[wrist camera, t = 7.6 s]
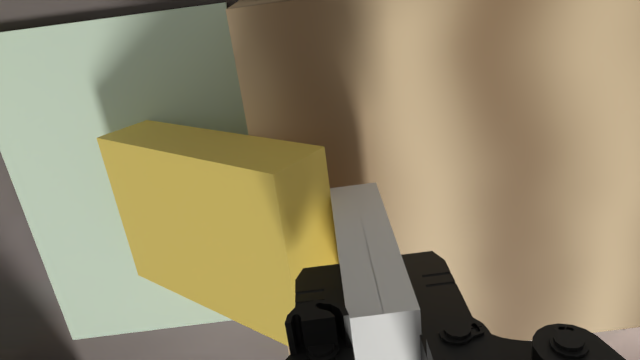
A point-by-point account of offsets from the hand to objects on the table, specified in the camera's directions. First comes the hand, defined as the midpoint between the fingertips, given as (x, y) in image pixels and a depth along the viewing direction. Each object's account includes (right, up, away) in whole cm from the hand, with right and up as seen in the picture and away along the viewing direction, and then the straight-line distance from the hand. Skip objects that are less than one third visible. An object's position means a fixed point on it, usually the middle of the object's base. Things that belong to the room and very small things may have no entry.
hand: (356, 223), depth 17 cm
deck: (+6, +3, +5) cm, 8 cm away
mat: (-9, +1, +5) cm, 10 cm away
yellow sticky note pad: (-4, 0, +2) cm, 5 cm away
